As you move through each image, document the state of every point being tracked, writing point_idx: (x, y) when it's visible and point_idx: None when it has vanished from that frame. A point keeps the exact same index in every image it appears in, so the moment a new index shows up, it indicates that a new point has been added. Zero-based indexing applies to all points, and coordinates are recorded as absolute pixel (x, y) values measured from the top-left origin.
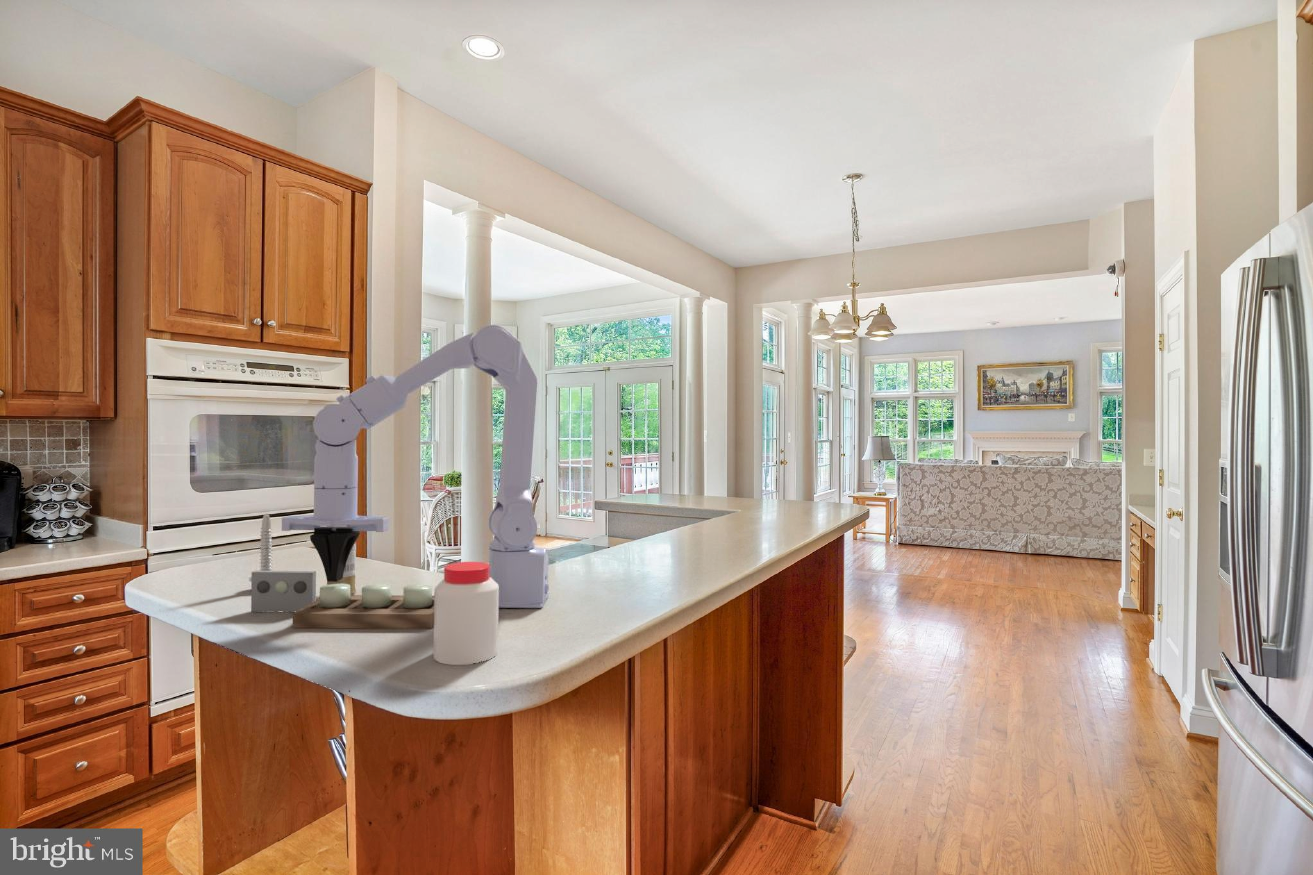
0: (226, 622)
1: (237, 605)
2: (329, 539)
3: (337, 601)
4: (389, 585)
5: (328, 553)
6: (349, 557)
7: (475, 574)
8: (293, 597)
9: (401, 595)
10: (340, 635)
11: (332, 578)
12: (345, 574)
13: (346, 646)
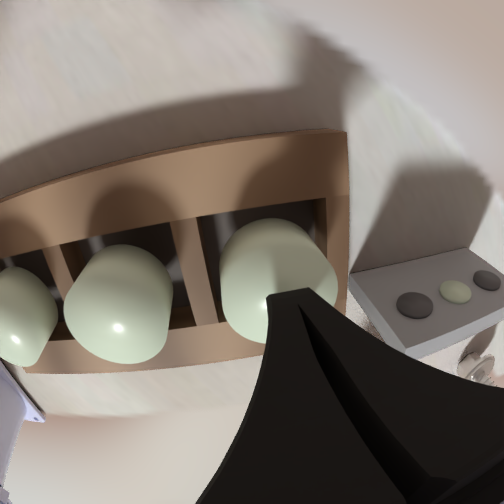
0: (479, 170)
1: None
2: (376, 485)
3: (238, 240)
4: (92, 349)
5: (351, 385)
6: None
7: None
8: (413, 284)
9: (128, 370)
10: (131, 85)
11: (286, 297)
12: None
13: (68, 20)
